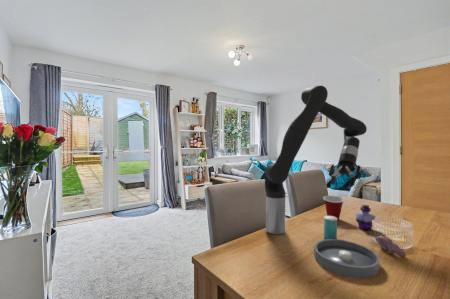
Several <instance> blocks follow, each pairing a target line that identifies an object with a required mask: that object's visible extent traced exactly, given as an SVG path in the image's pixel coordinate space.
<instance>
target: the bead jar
mask: <svg viewBox="0 0 450 299" xmlns="http://www.w3.org/2000/svg"><path fill="white" fill-rule="evenodd" d="M323 218H324V219H323V221H324V222H323V240H326V239H338V220H337V218H336V217H334V216H327V215H324V216H323Z"/></svg>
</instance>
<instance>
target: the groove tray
mask: <svg viewBox="0 0 450 299" xmlns="http://www.w3.org/2000/svg"><path fill="white" fill-rule="evenodd" d="M313 256H314V259H315V262H316V263H318V264H319V266H321V267H322V268H324V269H326V270H327V271H330V272H331V273H332V272H333V273H334V274H337V275H340V276H343V277H346V278H353V279H354V278H355V279H369V278H374V277H376V276H377V275H378V274H380V256H379V255H378V254H377V252H376V251H373V250H372V249H370V248H368V247H367V246H364V245H362V244H360V243H357V242H355V241H353V242H352V241H349V240H344V239H338V238H337V239H326V240H324V239H322V240H318V241H317V242H316V243H315V244H314V246H313Z"/></svg>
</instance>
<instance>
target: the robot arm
mask: <svg viewBox="0 0 450 299" xmlns="http://www.w3.org/2000/svg"><path fill="white" fill-rule="evenodd" d="M328 95H329V94H328V89H327V88H326V87H325V86H324V85H314V86H310V87H307V88H305V89H304V90H302V92H301V97H300V98H301V101H302V103H303V104H304V105H305V107H304V109H303V110H302V111H301V112H300V113H299V115H297V116H296V117H295V118H294V119H293V121H292V122H291V123H290V124H289V126H288V128H287V130H286V131H285V133H284V136H283V139H282V143H281V144H282V145H281V150H280V153H279V155H278V157H277V158H276V161H275V162H273V163H269V164H267V166H266V167H265V169H264V189H265V195H266V196H265V233H268V234H271V235H272V234H273V235H282V234H284V233H286V191H285V190H286V189H285V188H284V182H285V181H286V180H287V178H288V176H289V173H290V170H291V168H292V166H293V163H294V161H295V158H296V157H297V154H298V153H299V151H300V149H301V147H302V146H303V143H304V141H305V139H306V137H307V135H308V134H309V131H310V129H311V127H312V125H313V123H314V121H315V119H316V118H317V115H319V113H320V114H322V115H324V116H325V118H328V119H329V120H331V121H332V122H333V123H334V124H335V125H337V126H338V127H339V128H341V129H343V145H342V149H341V151H340V155H339V158H338V163H337V164H338V165H334V164H332V165H331V167H330V169H329V171H328V172H329V173H328V175H329V177H330V178H331V180H330V183H331V185H332V186H335V185H336V182H337V178H338V177H341V176H343V175H345V176H349V175H350V180H349V184H348V185H349V187H352V188H353V186H355V184H356V180H357V179H358V180H360V179H361V176H362V168H363V167H361V165H356V163H357V159H358V157H359V156H358V154H359V147H360V139H359V138H357V137H358V136H362V135H365V133H367V130H368V129H367V128H368V127H367V126H366V124H365V123H364V122H363V121H362V120H359V119H357V118H355V117H352V116H350V115H349V114H348V113H347V112H345V110H343V109H341V108H339V107H337V106H334V105H332V104H330V103H328V102H327V99H328ZM354 171H356V172H355V174H354Z"/></svg>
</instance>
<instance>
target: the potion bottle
mask: <svg viewBox="0 0 450 299" xmlns="http://www.w3.org/2000/svg"><path fill="white" fill-rule="evenodd" d="M371 210H372V209H371V208H370V205H367V204H362V205H361V206H360V211H361V212H356V213H355V220H356V221H355V222H356V223H357V225H358V229H359V230H361V231H366V232H372V228H373V225H374V224H373V225H372V220H374V219H375V220H376V216H375V215H373V214H371V213H370V212H371Z"/></svg>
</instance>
